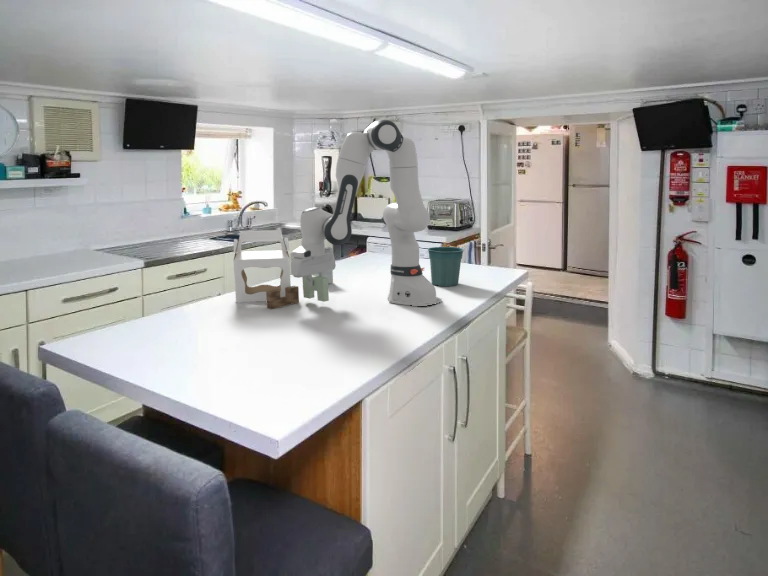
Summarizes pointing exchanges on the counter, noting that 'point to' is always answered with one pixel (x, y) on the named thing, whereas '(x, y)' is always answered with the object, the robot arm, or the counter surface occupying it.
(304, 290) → the crosspiece
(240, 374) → the counter surface
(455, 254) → the flower pot
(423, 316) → the counter surface
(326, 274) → the small box
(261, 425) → the counter surface
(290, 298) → the upright
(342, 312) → the counter surface
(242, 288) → the gable box
